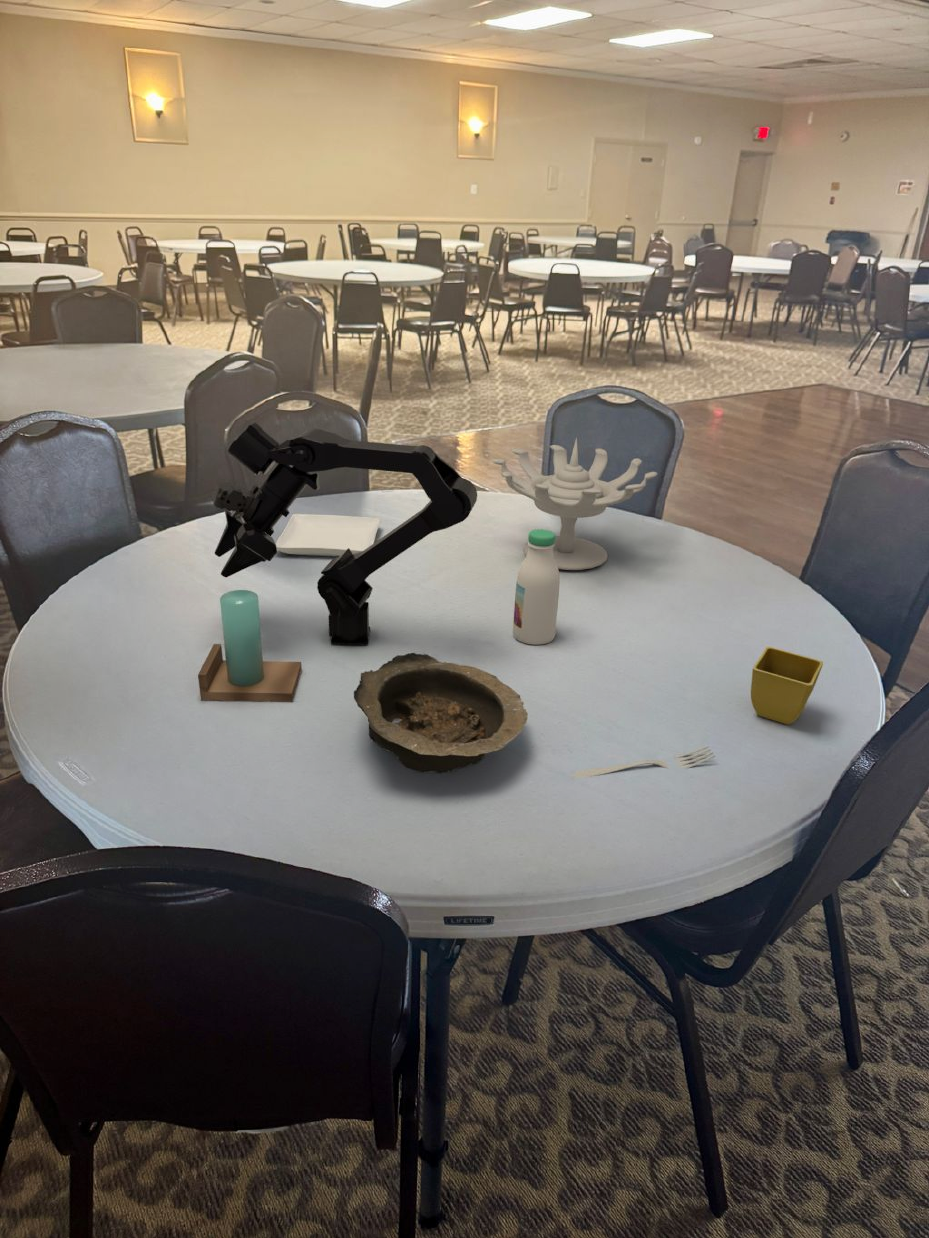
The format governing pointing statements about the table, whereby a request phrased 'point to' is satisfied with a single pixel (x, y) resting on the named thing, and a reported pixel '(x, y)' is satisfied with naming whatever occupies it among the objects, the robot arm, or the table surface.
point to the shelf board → (272, 688)
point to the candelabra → (573, 499)
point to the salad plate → (327, 534)
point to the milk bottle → (537, 591)
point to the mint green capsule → (242, 637)
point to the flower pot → (782, 684)
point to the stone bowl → (438, 712)
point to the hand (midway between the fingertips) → (219, 565)
